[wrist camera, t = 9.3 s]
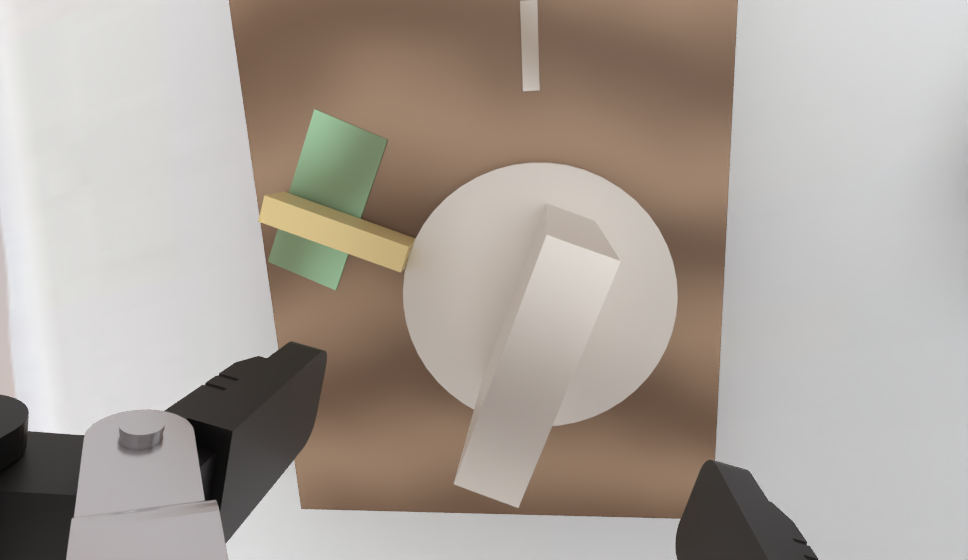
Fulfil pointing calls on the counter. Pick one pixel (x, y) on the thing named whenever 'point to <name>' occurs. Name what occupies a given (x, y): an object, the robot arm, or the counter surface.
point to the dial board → (451, 164)
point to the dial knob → (519, 303)
